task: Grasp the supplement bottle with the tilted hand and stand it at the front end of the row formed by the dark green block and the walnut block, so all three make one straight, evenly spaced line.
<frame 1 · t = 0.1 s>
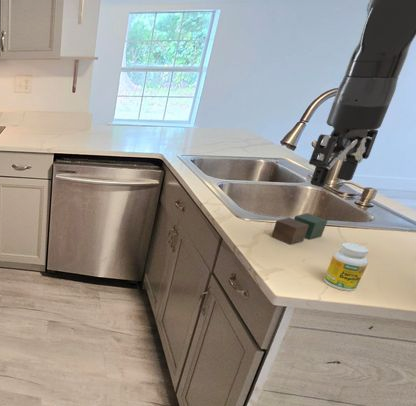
hand: (330, 182, 75), 23 cm above the worktop, tool pointing down, fingers open, 8 cm apart
supplement bottle: (338, 285, 81), on the worktop
walnut block: (286, 238, 100), on the worktop
green block: (305, 234, 102), on the worktop
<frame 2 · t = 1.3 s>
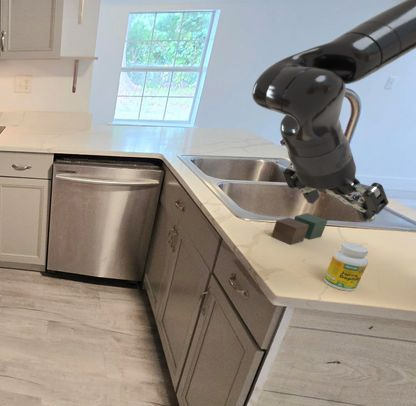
hand: (338, 207, 70), 21 cm above the worktop, tool tilted 45°, fingers open, 8 cm apart
nothing on the worktop moved.
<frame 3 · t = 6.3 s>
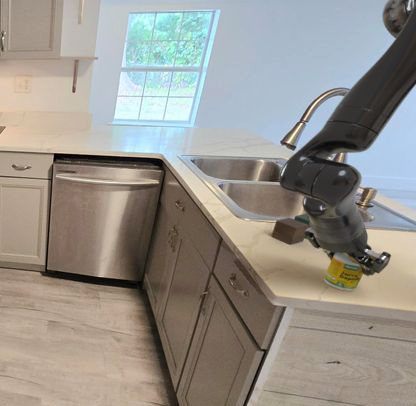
hand: (352, 264, 80), 5 cm above the worktop, tool tilted 45°, fingers closed on supplement bottle, 5 cm apart
supplement bottle: (338, 285, 81), on the worktop, touching gripper
everything else where it was.
when the fingers open (5 cm above the worktop, at t = 14.5 s): supplement bottle stays where it is, on the worktop.
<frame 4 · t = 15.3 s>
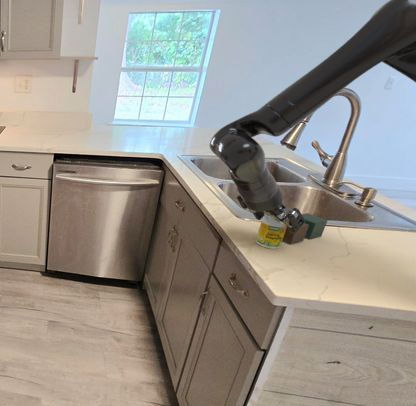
hand: (277, 223, 96), 6 cm above the worktop, tool tilted 45°, fingers open, 8 cm apart
supplement bottle: (267, 244, 98), on the worktop
everything else where it was.
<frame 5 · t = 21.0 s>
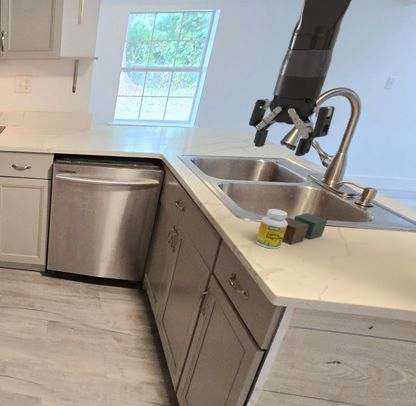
hand: (278, 150, 81), 28 cm above the worktop, tool pointing down, fingers open, 8 cm apart
nothing on the worktop moved.
at the end: supplement bottle 0.1 cm from the target spot on the worktop beside the green block, on the worktop; supplement bottle tilted 0°; walnut block moved 0.0 cm from its start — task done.
